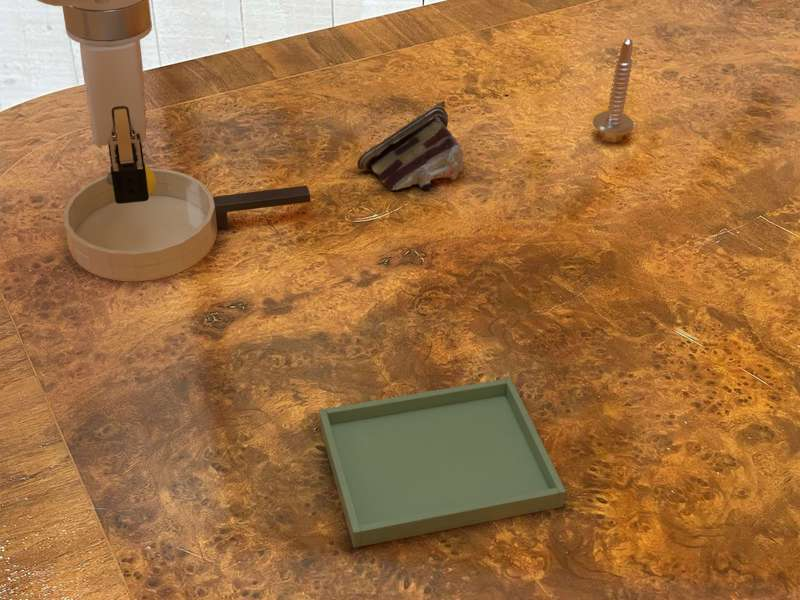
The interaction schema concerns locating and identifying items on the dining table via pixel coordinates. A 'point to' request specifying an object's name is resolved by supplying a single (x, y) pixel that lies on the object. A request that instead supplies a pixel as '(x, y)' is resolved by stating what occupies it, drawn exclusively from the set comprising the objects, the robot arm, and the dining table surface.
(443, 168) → the striped layered wedge
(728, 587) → the dining table surface
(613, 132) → the screw
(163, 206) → the pan
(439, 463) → the tray
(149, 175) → the light bulb
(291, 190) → the pan handle
